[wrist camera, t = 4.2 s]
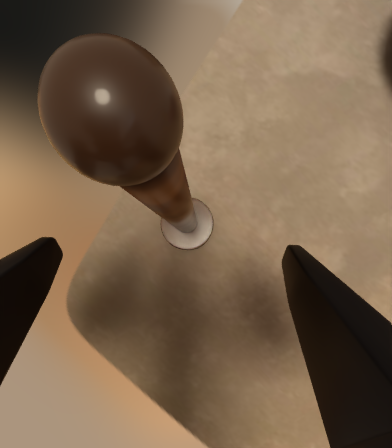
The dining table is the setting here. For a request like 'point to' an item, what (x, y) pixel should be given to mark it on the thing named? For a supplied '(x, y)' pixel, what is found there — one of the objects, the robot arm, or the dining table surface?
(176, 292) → the dining table surface
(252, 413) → the dining table surface
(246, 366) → the dining table surface
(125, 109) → the wooden pestle
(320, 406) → the robot arm
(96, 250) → the dining table surface
